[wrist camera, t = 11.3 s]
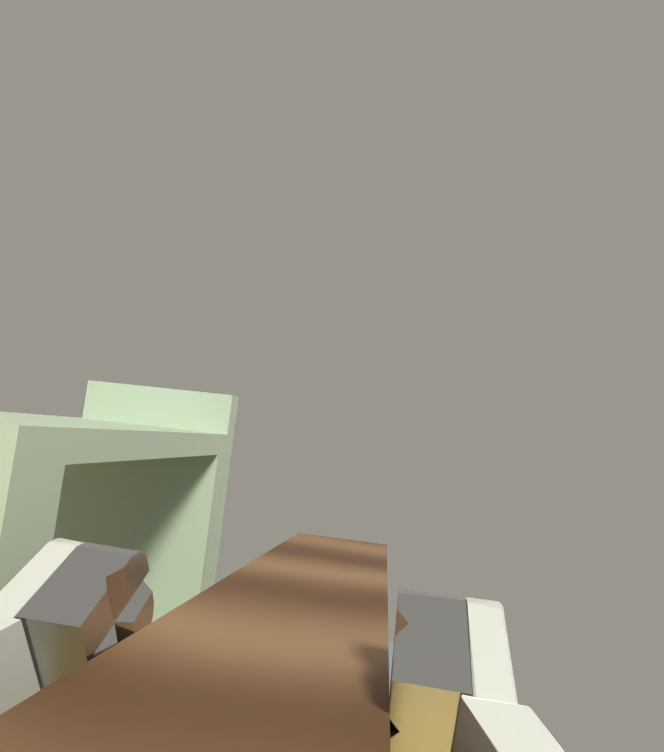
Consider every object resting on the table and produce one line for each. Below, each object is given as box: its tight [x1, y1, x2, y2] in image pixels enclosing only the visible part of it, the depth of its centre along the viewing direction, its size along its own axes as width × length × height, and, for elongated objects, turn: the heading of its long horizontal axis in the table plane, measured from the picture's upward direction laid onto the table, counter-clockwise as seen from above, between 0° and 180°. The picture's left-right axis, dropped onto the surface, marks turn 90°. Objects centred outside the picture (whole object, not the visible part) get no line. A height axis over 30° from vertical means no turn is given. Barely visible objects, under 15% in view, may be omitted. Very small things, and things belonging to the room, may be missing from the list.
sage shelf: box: [0, 380, 238, 623], centre depth 20 cm, size 16×8×28 cm, turn 172°
